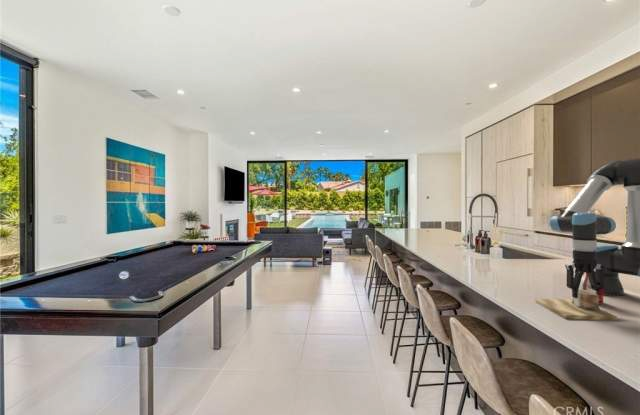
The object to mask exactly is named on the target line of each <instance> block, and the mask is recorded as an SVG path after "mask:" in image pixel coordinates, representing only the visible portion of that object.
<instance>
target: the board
mask: <svg viewBox="0 0 640 415" xmlns="http://www.w3.org/2000/svg"><path fill="white" fill-rule="evenodd" d="M534 300H535V303H536V304H538V305H539V306H541V307H543V308H545V309H547V310H549V311H550V312H552V313H553V314H556V315H558V316H559V317H560V318H563V319H565V320H591V321H592V320H598V321H618V316H617V315H615V314H612V313H611V312H608V311H606V310H603V309H601V308H600V310H585V309H583V308H581V307H579V306H576V305H574V304H572V301H573V299H560V298H559V299H557V298H555V299H554V298H553V299H552V298H551V299H549V298H536V299H534Z"/></svg>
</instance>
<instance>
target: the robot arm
mask: <svg viewBox="0 0 640 415" xmlns="http://www.w3.org/2000/svg"><path fill="white" fill-rule="evenodd" d="M618 185H619V186H620V185H621V186H623V189H624V190H626V191H627V207H626V208H627V210H626V232H625V233H626V234H625V235H626V237H625V238H626V239H625V242H624V243H622V244H621V246H620V247H621V248H620V247H619V245H617V244H597V235H608V234H612V233H613V232H614V231H616V227H617V223H616V220H614V219H613V218H612V217H609V216H605V215H602V216H597V215H596V213H594V212H589V211H590V210H591V209H592V208H593V207H594V205H595V204H596V203H597V202H598V200H599V199H600V198H601V196H603V194H604V193H605V192H606V191H608V190H610V189H611V188H612V187H613V186H618ZM549 227H550V229H551V231H555V232H558V233H559V232H560V233H572V249H573V250H572V258H573V259H572V260H573V261H572V263H570V264H568V263H566V264H565V265H564V266H565V269H566V287H567V288H568V289H570V290H571V292H572V293H571V296H572V298H573V297H574V305H576V306H579V307H581V291H579V290H580V286H581V282H582V278H583V276H584V274H586V273H587V275H588V278H589V281H590V285H591V288H592V289H589V291H590V292H592V293H594V294H597V295H598V291H601V290H600V289H603V296H614V297H615V296H616V297H617V296H623V295H624V294H625V289H624V287H623V285H622V283H621V282H622V281H621V280H620V275H619V274H622V275H627V276H636V277H639V278H640V157H638V158H630V159H629V158H628V159H621V160H615V161H611V162H608V163H606V164H604V165H602V166H600V167H599V168H598V169H596V170H595V171H594V172H592V173H591V175H590V176H589V177H588V178H587V180H586V184H585V185H584V187H583V188H582V189H581V190H580V192H579V193H578V194H577V195H576V197H575V198H574V199H573V200H572V201H571V203H569V205H568V206H567V207H566V209H565V210H564V211H563V212H562V213H561V215H554V216H551V217H550V220H549ZM594 269H596V277H595V271H594ZM581 290H586V276H585V278H584V280H583V283H582V288H581Z"/></svg>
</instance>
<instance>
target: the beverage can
mask: <svg viewBox="0 0 640 415" xmlns="http://www.w3.org/2000/svg"><path fill="white" fill-rule="evenodd" d="M594 271H595V277H596V269H594ZM585 277H586V290H587V291H589V289H592V288H591V285H590V281H589V278H588V275H587V273H585ZM600 290H601V291H598V295H599V305H603V303H604V295H603V289H600ZM589 292H590V291H589Z"/></svg>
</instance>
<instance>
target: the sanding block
mask: <svg viewBox="0 0 640 415" xmlns="http://www.w3.org/2000/svg"><path fill="white" fill-rule="evenodd" d="M578 290H579V291H581V308H583V309H585V310H600V309H601V307H600V306H599V305H600V304H599V295H597V294H594V293H592V292H589V291H587V290H583V289H578ZM572 300H573V301H572V304H574V297H573V296H572Z"/></svg>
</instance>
